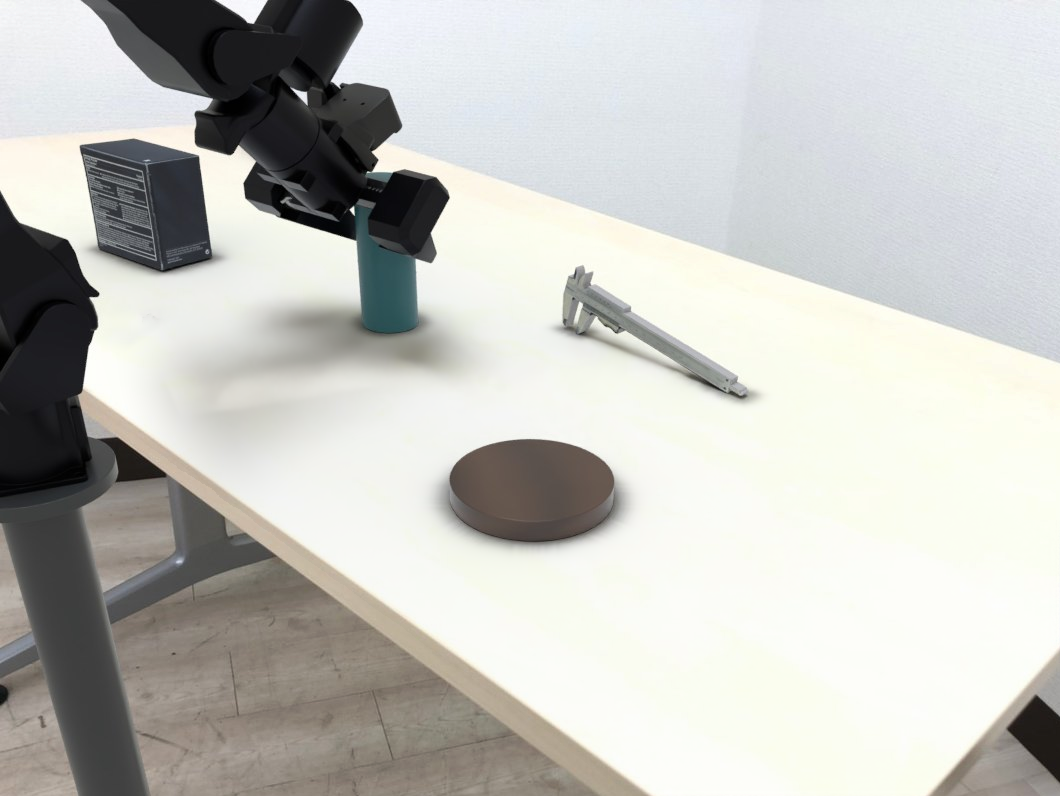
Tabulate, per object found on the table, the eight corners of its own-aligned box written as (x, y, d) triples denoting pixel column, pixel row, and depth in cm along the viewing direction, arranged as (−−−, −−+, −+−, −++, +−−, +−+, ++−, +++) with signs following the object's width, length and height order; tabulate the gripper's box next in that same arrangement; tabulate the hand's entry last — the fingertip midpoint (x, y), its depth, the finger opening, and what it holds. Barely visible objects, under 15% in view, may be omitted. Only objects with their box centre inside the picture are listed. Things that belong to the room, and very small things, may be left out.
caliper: (561, 328, 97) (563, 263, 94) (569, 325, 98) (571, 260, 95) (741, 399, 86) (750, 328, 83) (748, 395, 87) (757, 324, 84)
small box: (218, 257, 107) (203, 153, 102) (162, 272, 102) (144, 164, 97) (151, 235, 112) (135, 134, 106) (95, 249, 107) (75, 144, 102)
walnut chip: (488, 557, 64) (488, 536, 63) (426, 474, 72) (425, 456, 71) (643, 518, 69) (644, 499, 68) (568, 445, 77) (569, 427, 76)
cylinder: (371, 336, 92) (362, 189, 86) (355, 316, 96) (344, 173, 89) (426, 328, 95) (420, 184, 88) (407, 309, 98) (401, 170, 92)
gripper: (429, 70, 76) (520, 192, 90) (255, 36, 85) (363, 153, 98) (357, 197, 75) (462, 302, 88) (186, 150, 83) (306, 253, 96)
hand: (397, 247), depth 93 cm, fingers open, 8 cm apart
